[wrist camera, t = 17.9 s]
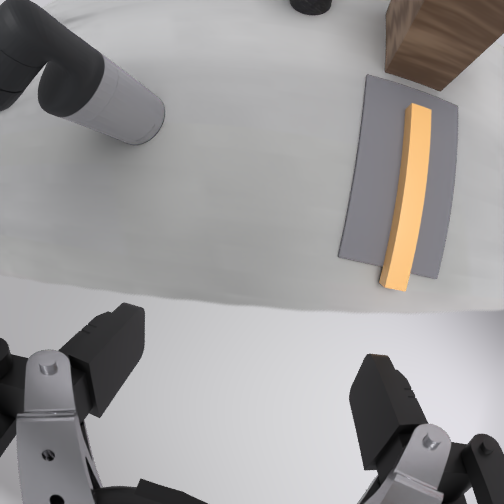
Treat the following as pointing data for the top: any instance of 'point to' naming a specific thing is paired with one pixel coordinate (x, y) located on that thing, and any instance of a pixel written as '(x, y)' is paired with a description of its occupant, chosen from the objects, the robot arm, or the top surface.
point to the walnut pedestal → (439, 37)
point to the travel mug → (311, 6)
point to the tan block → (408, 198)
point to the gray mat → (387, 176)
